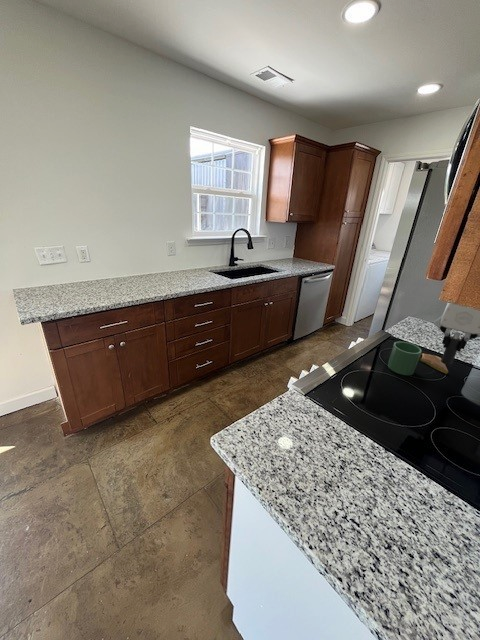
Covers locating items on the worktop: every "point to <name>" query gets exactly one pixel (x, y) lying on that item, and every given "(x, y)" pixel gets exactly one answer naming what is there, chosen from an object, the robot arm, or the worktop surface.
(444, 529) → the worktop surface
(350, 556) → the worktop surface
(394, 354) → the green cup
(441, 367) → the shard
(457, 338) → the dark bottle
